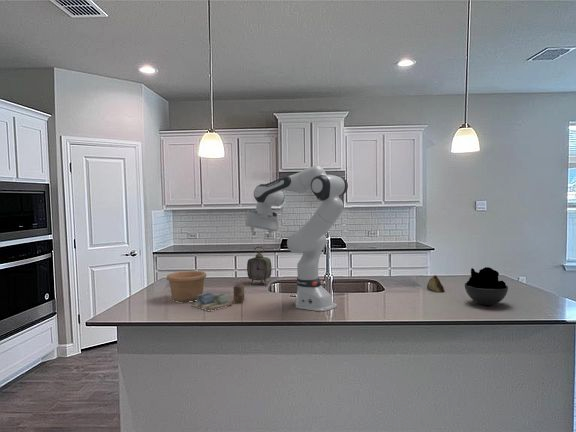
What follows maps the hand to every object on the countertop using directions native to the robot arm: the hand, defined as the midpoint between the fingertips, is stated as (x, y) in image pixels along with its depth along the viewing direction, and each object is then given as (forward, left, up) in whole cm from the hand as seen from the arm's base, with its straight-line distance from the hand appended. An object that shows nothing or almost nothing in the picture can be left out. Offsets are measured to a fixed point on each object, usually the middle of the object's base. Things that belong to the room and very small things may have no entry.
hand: (260, 236), depth 229 cm
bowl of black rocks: (-102, -61, -36) cm, 124 cm away
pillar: (+3, +15, -35) cm, 39 cm away
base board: (+9, +29, -35) cm, 47 cm away
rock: (-70, -75, -36) cm, 109 cm away
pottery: (+32, +29, -36) cm, 56 cm away
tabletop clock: (+27, -24, -36) cm, 50 cm away
